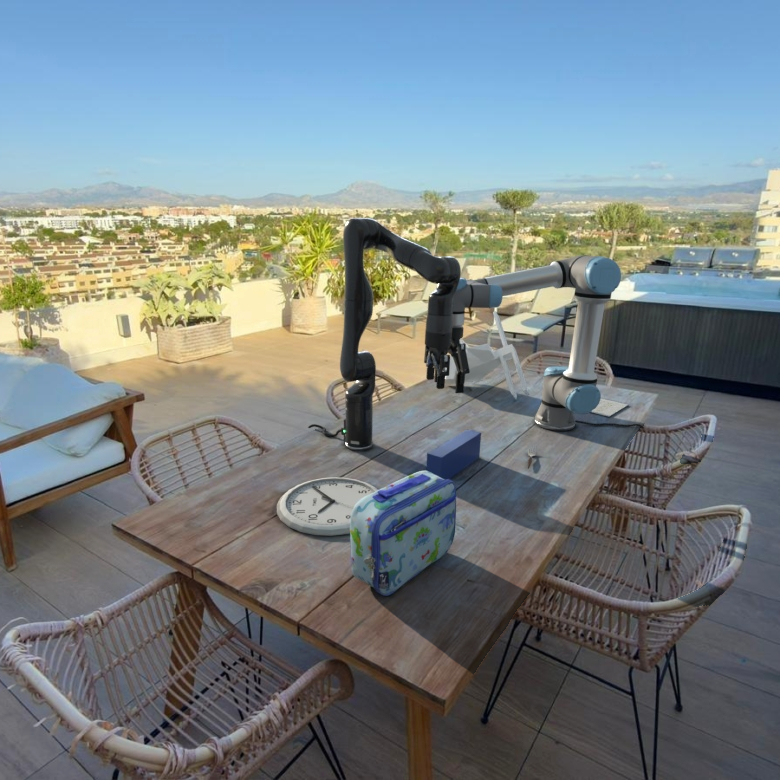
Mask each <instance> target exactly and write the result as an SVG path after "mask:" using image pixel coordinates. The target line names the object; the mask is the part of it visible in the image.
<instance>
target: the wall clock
mask: <svg viewBox="0 0 780 780" xmlns="http://www.w3.org/2000/svg"><path fill="white" fill-rule="evenodd" d="M378 490H380V489H379V488H377V487H376V486H374V485H372V484H371V483H369V482H365V481H362V480H359V479H355V478H349V477H338V476H337V477H335V476H333V477H332V476H331V477H322V478H317V479H312V480H307V481H305V482H302V483H299V484H297V485H295V486H293V487H292V488H290V489H288V490H287V491H286V492H285V493H284V494H283V495H281V496H280V498H279V499H278V502H277V503H276V515H277V517H278V518H279V520H280V521H281V522H282V523H283V524H285V525H286V526H287V527H288V528H290V529H293V530H295V531H297V532H299V533H303V534H308V535H312V536H327V537H328V536H329V537H331V536H332V537H333V536H342V535H350V517H351V513H352V510H353V508H354V506H355V505H356V503H357V502H358V501H359V500H360V499H362V498H364V497H365V496H367V495H370V494H372V493H374V492H376V491H378Z"/></svg>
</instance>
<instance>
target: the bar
mask: <svg viewBox="0 0 780 780" xmlns="http://www.w3.org/2000/svg"><path fill="white" fill-rule="evenodd" d="M481 440H482V432H480V431H476V430H472V429H466V430H464V431H462V432H461V433H459V434H457V435H456V436H454V437H452V438H450V439H449V440H447V441H445V442H443V443H442V444H440V445H439V446H437V447H435V448H434V449H432V450H430V451H429V452H426V470H425V471H429V472H431V473H433V474H435V475H437V476H439V477H440V478H442V479H444V480H446V479H449V480H451V479H452V477H454V476H455V475H457V474H458V473H460V472H461V471H463V470H464V469H466V468H467V467H468V466H470V465H471V464H473V463H474V462H476V461H477V460H478V459H480V455H481V454H480V453H481V442H482V441H481Z"/></svg>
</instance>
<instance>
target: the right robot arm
mask: <svg viewBox="0 0 780 780" xmlns="http://www.w3.org/2000/svg"><path fill="white" fill-rule="evenodd" d="M621 279H622V271H621V268H620V266H619V265H618V263H617V262H616V261H615V260H613V259H612V258H609V257H606V256H601V255H600V256H598V255H597V256H596V255H587V254H580V255H576V256H571V257H568V258H564V259H560V260H555V261H552V262H551V263H550V265H545V266H540V267H534V268H528V269H525V270H524V269H523V270H519V271H514V272H508V273H503V274H498V275H493V276H489V277H483V278H477V279H466V278H465V277H460V281H459V284H458V287H457V291H456V294H455V296H454V300H453V314H452V319H453V325H452V338H451V346H450V347H448V348H446V349H445V353H446V355H450V357H451V356H452V357H453V359H454V362H455V365H456V368H457V371H458V373H457V374H456V384H455V389H454V394H463V393H464V391H465V383H464V382H465V374H468V373H470V370H469V365H468V360H467V355H466V344H467V343H466V342H465V343H466V344H465V343H463V344H460V339H463V337H464V325H465V314H466V313H465V312H466V311H465V310H466V308H468V309H471V308H474V309H475V308H476V309H495V308H500V306H501V305H502V303H503V297H507V296H511V295H516V294H522V293H526V292H532V291H536V290H541V289H548V288H552V287H553V288H554V289H558V290H559V289H562V288H563V289H564V288H571V289H572V288H573V289H574V298H575V299H576V300H577V308H576V313H575V320H574V326H573V327H574V328H573V334H572V340H571V347H570V355H569V360H568V361H569V362H568V366H549V367H547V368H546V369H545V370H544V373H543V381H542V382H543V383H542V394H541V402H540V405H539V407H538V410H537V411H536V413H535V417H534V424H535V425H536V426H537V427H539V428H542V429H544V430H549V431H556V432H567V431H572V430H574V429H575V428H576V423H577V424H582V425H588V426H593V427H596V426H597V427H598V426H599V427H601V426H614V427H625V428H630V427H639V428H640V429H645V427H644V426H643V424H642V425H641V424H639V423H630V424H623V423H614V422H613V423H612V422H602V423H600V422H599V423H593V422H589V421H588V422H587V421H583V420H578V419H576V418H575V417H576V416H575V415H587V414H589V413H592V412H591V411H592V410H593V409H595V408H596V407H597V406H598V404H599V402H600V399H602V394H601V391H600V389H599V388H598V387H597V382H598V375H597V374H596V373H595V367H596V360H597V354H598V348H599V342H600V336H601V331H602V324H603V317H604V311H605V306H606V303H607V302H609V301H610V300H611V299H612V293H613V292H615V291H616V289H617V288H619V285H620V283H621V281H622V280H621ZM461 350H462V351H461ZM456 352H458V353H456ZM439 370H440V369H439ZM434 383H437V370H436V369H435V371H434Z"/></svg>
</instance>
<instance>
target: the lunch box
mask: <svg viewBox="0 0 780 780" xmlns="http://www.w3.org/2000/svg"><path fill="white" fill-rule="evenodd" d="M456 519H457V488H456V484H455V482H454V480H452V479H446V480H444V479H442V478H440V477H439V476H437V475H435V474H433V473H431V472H429V471H426V470H419V471H417V472H414V473H412V474H410V475H407V476H405V477H403V478H400V479H399V480H396V481H394V482H392V483H390V484H388V485H386V486H384V487H382V488H380V489H379V490H378V491H376V492H374V493H372V494H370V495H367V496H365V497H364V498H362V499H360V500H359V501H358V502H357V503H356V505H355V506H354V508H353V510H352V513H351V517H350V533H349V540H350V566H351V573H352V575H353V577H354V578H355V579H357V580H359V581H362V582H363V583H365V584H367V585H368V586H370V587H371V588H373V589H374V590H375V592H376V593H378V594H379V595H381V596H386V597H387V596H390V595H392V594H394V593H395V592H396V591H398V590H399V589H400V588H401V587H402V586H404V585H405V584H407V583H408V582H409V581H411V580H412V579H413V578H415V577H416V576H418V575H419V574H420V573H421V572H423V571H424V570H425V569H426V568H428V566H430V565H432V564H434V563H435V562H437V561H438V560H440V559H441V558H442V557H444V556H445V555H446V554H447V553H448V552H449V550H450V548H451V547H452V545H453V542H454V539H455V535H456V524H457V523H456V522H457V520H456Z"/></svg>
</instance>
